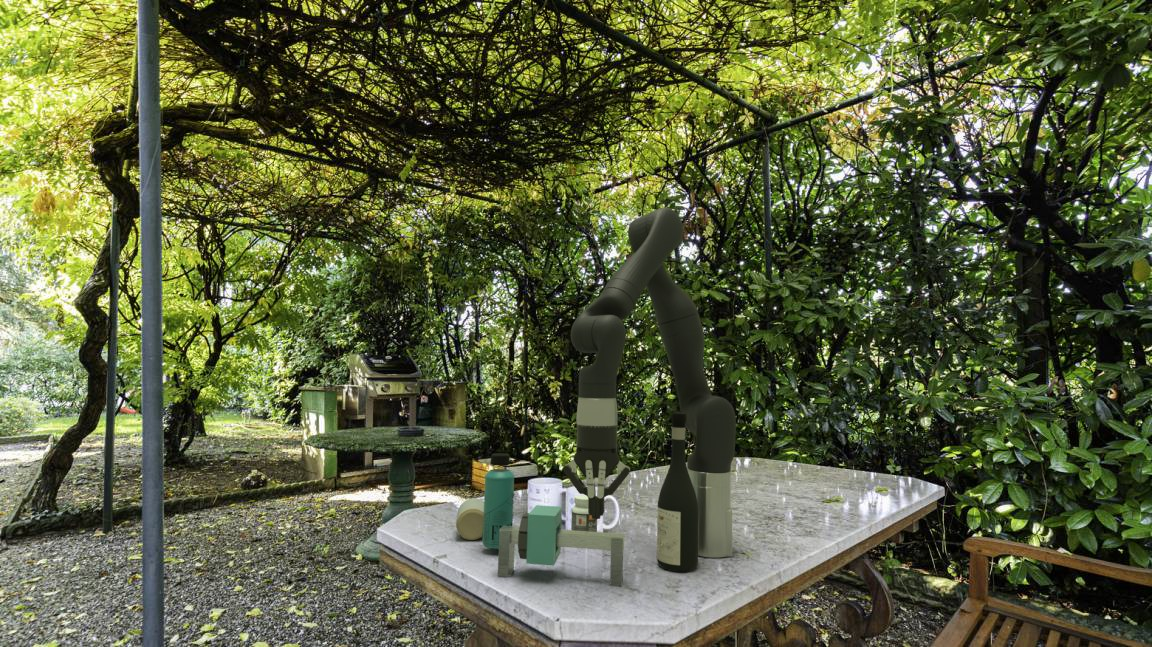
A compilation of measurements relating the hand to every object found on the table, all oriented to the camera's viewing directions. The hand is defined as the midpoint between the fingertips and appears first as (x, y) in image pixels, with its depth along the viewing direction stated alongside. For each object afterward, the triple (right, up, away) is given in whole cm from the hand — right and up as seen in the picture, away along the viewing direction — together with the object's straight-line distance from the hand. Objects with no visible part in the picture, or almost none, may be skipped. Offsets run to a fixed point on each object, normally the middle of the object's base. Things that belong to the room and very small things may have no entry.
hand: (596, 517), depth 103 cm
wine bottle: (+16, -13, +8) cm, 22 cm away
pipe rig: (-7, -11, 0) cm, 13 cm away
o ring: (-13, -8, +1) cm, 15 cm away
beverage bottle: (-20, -12, +14) cm, 27 cm away
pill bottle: (-2, -13, +22) cm, 25 cm away
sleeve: (-10, -8, +1) cm, 12 cm away
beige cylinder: (-26, -13, +25) cm, 38 cm away
